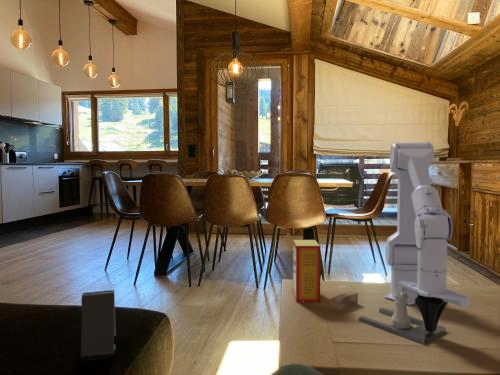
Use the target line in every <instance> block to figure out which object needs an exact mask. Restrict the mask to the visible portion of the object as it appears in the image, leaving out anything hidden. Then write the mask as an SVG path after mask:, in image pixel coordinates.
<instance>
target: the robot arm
mask: <svg viewBox="0 0 500 375" xmlns="http://www.w3.org/2000/svg"><path fill="white" fill-rule="evenodd" d="M434 157H435V149H434V145H433V144H432V142H430V141H427V142H424V141H423V142H393V143H392V144H391V146H390V151H389V169H390V172H391V173H392V174H395V175H396V178H397V179H396V180H397V196H396V198H397V199H396V200H397V206H396V207H397V208H396V209H397V210H396V211H397V212H396V215H397V218H396V223H397V224H396V231H395V232H394V233H393V234H391V235H390V236H388V237H387V239H386V245H385V252H384V253H385V254H384V255H385V262H386V264H387V265H388V266H390V267H391V268H390V270H391V271H390V293H388V294H386V295H384V298H385V299H389V300H392V301H394V302H395V301H396V298H395V297H394V294H395V293H396V291H398V290H399V291H400V292H402V291H405V292H407V295H408V296H409V298H408V299H407V303H408V304H407V305H410V306H411V305H412V306H413V305H414V304H416V306H417V308H418V310H419V312H420V314H421V317H422V320H423V321H424V325H425V329H426V331H428V332H431V333H432V332H434V331H436V328H437V325H438V323H439V320H440V318H441V316H442V313H443V311H444V310H445V308H446V306H447V305H448V303H449V304H451V305H452V304H453V305H456V306H459V307H460V308H463V309H466V308H468V307H470V296H468V295H465V294H461V293H458V292H455V291H453V290H450V289H447V287H448V286H447V285H448V284H447V283H448V282H447V280H448V279H447V278H448V277H447V276H448V275H447V273H448V272H447V271H448V241H451V239H452V235H453V222H452V218H451V216H450V214H449V213H448V212H447V210H446V209H445V210H444V209H443V206H442V201H441V197H440V194H439V191H438V189H436V187H433V186H432V184H431V183H432V182H431V178H430V177H431V176H430V171H429V168H431V165H432V163H433V161H434Z"/></svg>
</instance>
